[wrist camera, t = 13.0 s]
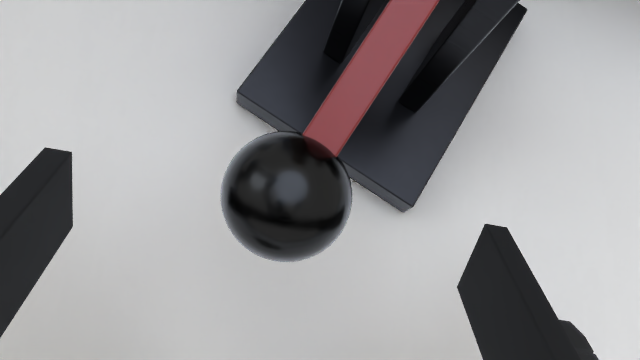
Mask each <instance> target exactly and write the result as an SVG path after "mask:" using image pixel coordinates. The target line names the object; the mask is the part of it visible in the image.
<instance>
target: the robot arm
mask: <svg viewBox="0 0 640 360" xmlns="http://www.w3.org/2000/svg"><path fill="white" fill-rule="evenodd" d="M72 227H73V210H72V152H68V151H63V150H57V149H51V148H44V149H43V150H42V151H41V152H40V153H39V154H38V156H37V157H36V158H35V159H34V160H33V161H32V162H31V163H30V164H29V165H28V166H27V167H26V168H25V169H24V170H23V172H22V173H21V174H20V175H19V176H18V177H17V178H16V179H15V180H14V181H13V182H12V183H11V184H10V185H9V186H8V188H7V189H6V190H5V191H4V192H3V193H2V194H1V195H0V337H1V336H2V334H3V333H4V331H5V330H6V328H7V327H8V325H9V324H10V322H11V321H12V319H13V318H14V316H15V314H16V313H17V311H18V310H19V308H20V307H21V305H22V304H23V302H24V301H25V299H26V298H27V296H28V295H29V293H30V291H31V290H32V288H33V287H34V285H35V284H36V282H37V281H38V279H39V278H40V276H41V275H42V273H43V272H44V270H45V268H46V267H47V265H48V264H49V262H50V261H51V259H52V258H53V256H54V255H55V253H56V252H57V250H58V249H59V247H60V245H61V244H62V242H63V241H64V239H65V238H66V236H67V235H68V233H69V232H70V230H71V229H72ZM457 288H458V291H459V294H460V297H461V299H462V302H463V305H464V308H465V311H466V313H467V316H468V319H469V322H470V324H471V327H472V330H473V333H474V335H475V338H476V341H477V344H478V346H479V349H480V352H481V355H482V357H483V360H598V358H597V356H596V355H595V354H593V352H594V351H593V350H592V348H591V346H590V344H589V343H588V341H587V339H586V338H585V336H584V335H583V334H582V333H581V332H580V331H579V330H578V329H577V328H576V327H575V326H574V325H573V324H572V323H571V322H570V321H563V320H558V318H557V316H556V314H555V312H554V311H553V309H552V307H551V305H550V304H549V302H548V300H547V298H546V296H545V295H544V293H543V291H542V289H541V287H540V286H539V284H538V282H537V280H536V279H535V277H534V275H533V273H532V271H531V270H530V268H529V266H528V264H527V263H526V261H525V259H524V257H523V255H522V254H521V252H520V250H519V248H518V246H517V245H516V243H515V241H514V239H513V238H512V236H511V234H510V232H509V230H508V229H507V227H501V226H495V225H489V224H485V225H484V227H483V230H482V232H481V234H480V236H479V239H478V241H477V243H476V245H475V248H474V250H473V252H472V254H471V257H470V259H469V261H468V263H467V266H466V268H465V270H464V272H463V275H462V277H461V279H460V281H459V284H458V286H457Z"/></svg>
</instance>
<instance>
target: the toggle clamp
mask: <svg viewBox="0 0 640 360" xmlns="http://www.w3.org/2000/svg"><path fill="white" fill-rule="evenodd" d="M389 1H390V0H306V1H305V2H304V3H303V5H302V6H301V7H300V9H299V10H298V11H297V13H296V14H295V15H294V17H293V18H292V19H291V21H290V22H289V23H288V24H287V26H286V27H285V28H284V30H283V31H282V32H281V34H280V35H279V36H278V38H277V39H276V40H275V42H274V43H273V44H272V45H271V47H270V48H269V49H268V51H267V52H266V53H265V55H264V56H263V57H262V59H261V60H260V61H259V63H258V64H257V65H256V67H255V68H254V69H253V70H252V72H251V73H250V74H249V76H248V77H247V78H246V80H245V81H244V82H243V84H242V85H241V86H240V88H239V89H238V90H237V103H238V104H239V105H241V106H242V107H244V108H245V109H247V110H248V111H250V112H251V113H253V114H254V115H256V116H258V117H259V118H261V119H262V120H264V121H265V122H267V123H268V124H270V125H271V126H273V127H274V128H276V129H277V130H279V131H294V132H301V133H304V131H305V129H306V128H307V126H308V125H309V123H310V122H311V120H312V119H313V117H314V116H315V114H316V113H317V111H318V110H319V108H320V107H321V105H322V103H323V102H324V100H325V99H326V97H327V96H328V94H329V93H330V91H331V90H332V88H333V87H334V85H335V84H336V82H337V81H338V79H339V77H340V76H341V74H342V73H343V71H344V70H345V68H346V67H347V65H348V64H349V62H350V61H351V59H352V58H353V56H354V55H355V53H356V51H357V50H358V48H359V47H360V45H361V44H362V42H363V41H364V39H365V38H366V36H367V35H368V33H369V32H370V30H371V29H372V27H373V25H374V24H375V22H376V21H377V19H378V18H379V16H380V15H381V13H382V12H383V10H384V9H385V7H386V6H387V4H388V3H389ZM519 1H520V0H440V1H439V2H438V4H437V5H436V7H435V8H434V10H433V11H432V13H431V14H430V16H429V17H428V19H427V20H426V22H425V24H424V25H423V27H422V28H421V30H420V31H419V33H418V34H417V36H416V37H415V39H414V40H413V42H412V43H411V45H410V46H409V48H408V49H407V51H406V52H405V54H404V55H403V57H402V58H401V60H400V62H399V63H398V65H397V66H396V68H395V69H394V71H393V72H392V74H391V75H390V77H389V78H388V80H387V81H386V83H385V84H384V86H383V87H382V89H381V90H380V92H379V93H378V95H377V96H376V98H375V100H374V101H373V103H372V104H371V106H370V107H369V109H368V110H367V112H366V113H365V115H364V116H363V118H362V119H361V121H360V122H359V124H358V125H357V127H356V128H355V130H354V131H353V133H352V134H351V136H350V138H349V139H348V141H347V142H346V144H345V145H344V147H343V148H342V150H341V151H340V153H339V154H338V157H339V158H340V159H341V161H342V162H343V164H344V166H345V168H346V170H347V172H348V175H349V177H350V178H352V179H353V180H355V181H356V182H358V183H359V184H361V185H362V186H364V187H365V188H367V189H369V190H370V191H372V192H373V193H375V194H376V195H378V196H379V197H381V198H382V199H384V200H385V201H387V202H388V203H390V204H391V205H393V206H394V207H396V208H397V209H399V210H400V211H402V212H405V211H407V210H408V209H410V208H412V207H413V206H414V205H415V203H416V201H417V199H418V198H419V196H420V194H421V193H422V191H423V189H424V187H425V186H426V184H427V182H428V180H429V179H430V177H431V175H432V174H433V172H434V170H435V168H436V167H437V165H438V163H439V162H440V160H441V158H442V156H443V155H444V153H445V151H446V149H447V148H448V146H449V144H450V143H451V141H452V139H453V137H454V136H455V134H456V132H457V131H458V129H459V127H460V125H461V124H462V122H463V120H464V118H465V117H466V115H467V113H468V112H469V110H470V108H471V106H472V105H473V103H474V101H475V100H476V98H477V96H478V94H479V93H480V91H481V89H482V87H483V86H484V84H485V82H486V81H487V79H488V77H489V75H490V74H491V72H492V70H493V69H494V67H495V65H496V63H497V62H498V60H499V58H500V56H501V55H502V53H503V51H504V50H505V48H506V46H507V44H508V43H509V41H510V39H511V38H512V36H513V34H514V32H515V31H516V29H517V27H518V25H519V24H520V22H521V20H522V19H523V17H524V15H525V13H526V12H527V9H526V8H525V7H523V6H522V5H520V4H519V3H518V2H519Z"/></svg>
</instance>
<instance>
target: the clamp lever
mask: <svg viewBox="0 0 640 360" xmlns="http://www.w3.org/2000/svg"><path fill="white" fill-rule="evenodd" d="M439 1H440V0H390V1H389V3H388V4H387V6H386V7H385V9H384V10H383V12H382V13H381V15H380V16H379V18H378V19H377V21H376V22H375V24H374V25H373V27H372V29H371V30H370V32H369V33H368V35H367V36H366V38H365V39H364V41H363V42H362V44H361V45H360V47H359V48H358V50H357V51H356V53H355V55H354V56H353V58H352V59H351V61H350V62H349V64H348V65H347V67H346V68H345V70H344V71H343V73H342V74H341V76H340V77H339V79H338V81H337V82H336V84H335V85H334V87H333V88H332V90H331V91H330V93H329V94H328V96H327V97H326V99H325V100H324V102H323V103H322V105H321V107H320V108H319V110H318V111H317V113H316V114H315V116H314V117H313V119H312V120H311V122H310V123H309V125H308V126H307V128H306V129H305V131H304V133H301V132H294V131H279V132H272V133H269V134H265V135H263V136H260V137H258V138H256V139H254V140H253V141H251V142H249V143H248V144H247V145H245V146H244V147H243V148H242V149H241V150H240V151H239V152H238V153H237V154H236V155H235V157H234V158H233V159H232V161H231V162H230V164H229V166H228V168H227V170H226V172H225V175H224V178H223V182H222V188H221V205H222V211H223V215H224V218H225V221H226V223H227V225H228V227H229V229H230V231H231V232H232V234H233V235H234V237H235V238H236V239H237V240H238V241H239V242H240V243H241V244H242V245H243V246H244V247H245V248H247V249H248V250H249V251H251V252H252V253H254V254H256V255H258V256H260V257H263V258H265V259H269V260H272V261H279V262H294V261H301V260H304V259H308V258H310V257H313V256H315V255H317V254H319V253H320V252H322V251H324V250H325V249H326V248H328V247H329V246H330V245H331V244H332V243H333V242H334V241H335V240H336V239H337V238H338V236H339V235H340V234H341V232H342V230H343V229H344V227H345V225H346V223H347V220H348V218H349V214H350V210H351V204H352V188H351V182H350V178H349V175H348V172H347V170H346V168H345V166H344V164H343V162H342V161H341V159H340V158H339V157H338V154H339V153H340V151H341V150H342V148H343V147H344V145H345V144H346V142H347V141H348V139H349V138H350V136H351V134H352V133H353V131H354V130H355V128H356V127H357V125H358V124H359V122H360V121H361V119H362V118H363V116H364V115H365V113H366V112H367V110H368V109H369V107H370V106H371V104H372V103H373V101H374V100H375V98H376V96H377V95H378V93H379V92H380V90H381V89H382V87H383V86H384V84H385V83H386V81H387V80H388V78H389V77H390V75H391V74H392V72H393V71H394V69H395V68H396V66H397V65H398V63H399V62H400V60H401V58H402V57H403V55H404V54H405V52H406V51H407V49H408V48H409V46H410V45H411V43H412V42H413V40H414V39H415V37H416V36H417V34H418V33H419V31H420V30H421V28H422V27H423V25H424V24H425V22H426V20H427V19H428V17H429V16H430V14H431V13H432V11H433V10H434V8H435V7H436V5H437V4H438V2H439Z"/></svg>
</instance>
